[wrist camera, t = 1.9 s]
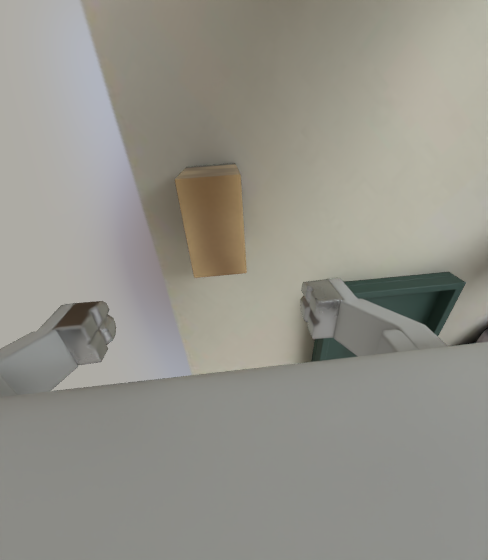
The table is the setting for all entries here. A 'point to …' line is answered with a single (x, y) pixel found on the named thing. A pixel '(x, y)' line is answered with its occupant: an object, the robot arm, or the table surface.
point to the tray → (401, 304)
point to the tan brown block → (213, 218)
